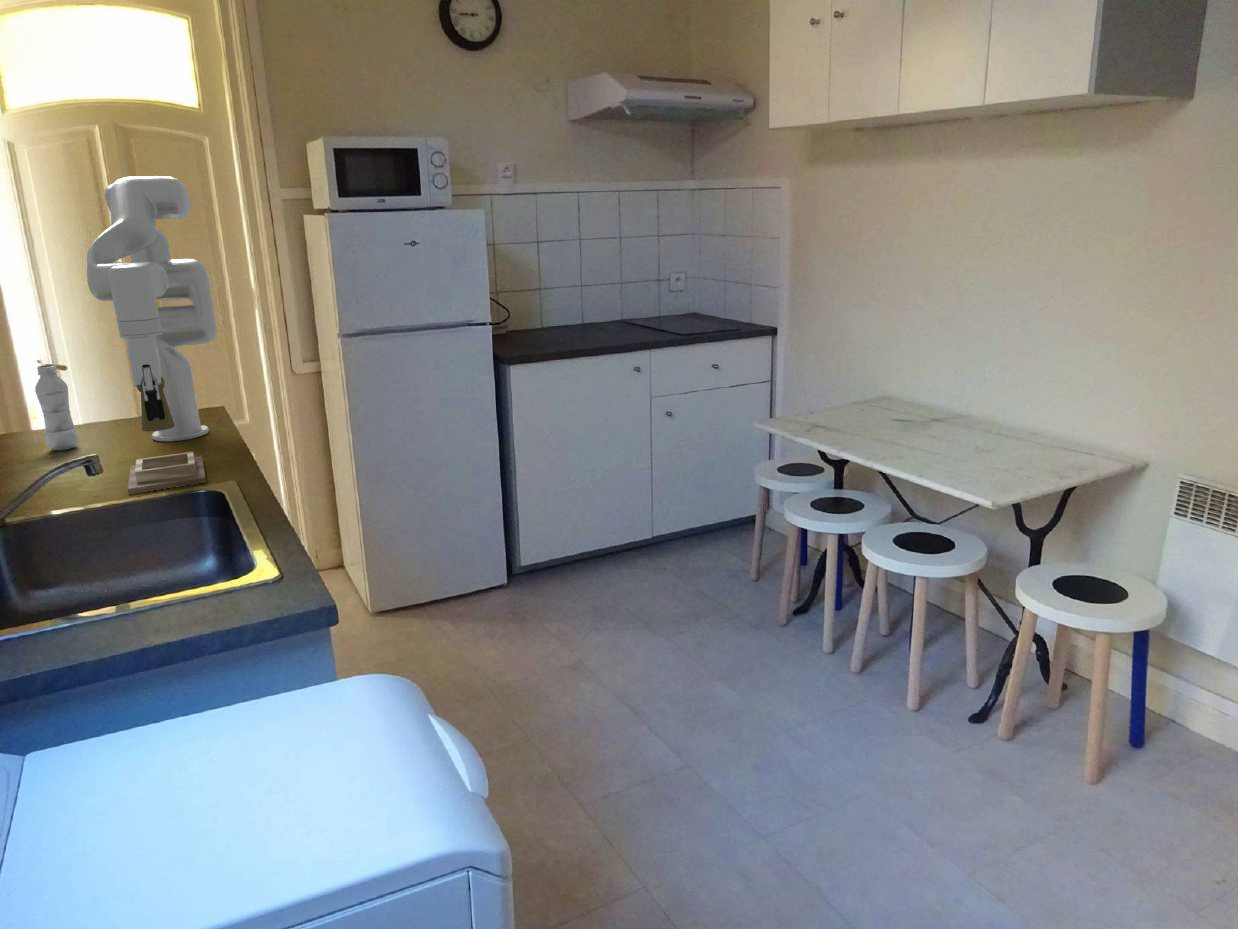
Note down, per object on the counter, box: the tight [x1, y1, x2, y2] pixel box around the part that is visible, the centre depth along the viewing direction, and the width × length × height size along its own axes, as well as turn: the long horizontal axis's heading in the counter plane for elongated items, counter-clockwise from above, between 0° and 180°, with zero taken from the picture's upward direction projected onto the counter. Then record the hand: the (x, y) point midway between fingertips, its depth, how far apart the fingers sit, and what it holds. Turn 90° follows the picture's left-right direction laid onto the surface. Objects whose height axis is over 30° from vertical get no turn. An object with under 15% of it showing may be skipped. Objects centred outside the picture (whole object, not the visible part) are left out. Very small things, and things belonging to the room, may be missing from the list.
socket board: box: [127, 451, 207, 495], centre depth 182 cm, size 18×14×3 cm
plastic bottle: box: [34, 364, 80, 451], centre depth 204 cm, size 6×7×20 cm
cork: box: [136, 376, 175, 432], centre depth 178 cm, size 6×6×11 cm
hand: (156, 416), depth 179 cm, fingers closed on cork, 4 cm apart
